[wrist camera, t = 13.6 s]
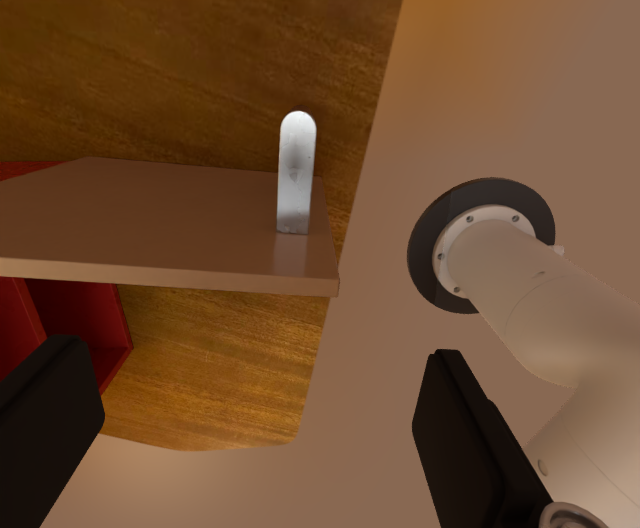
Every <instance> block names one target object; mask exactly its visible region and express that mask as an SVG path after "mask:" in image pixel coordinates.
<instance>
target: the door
mask: <svg viewBox="0 0 640 528" xmlns="http://www.w3.org/2000/svg"><path fill="white" fill-rule="evenodd" d="M316 136H317V126H316V122H315V119H314V116H313V113H312V111H311V110H310V109H309V108H308V107H307V106H305V105H297V106H295V107H293V108H292V109H291V110H290V111H289V112H288V113H287V114H286V115H285V116H284V118H283V119H282V122H281V125H280V140H279V163H278V173H275V172H263V171H252V170H240V169H229V168H217V167H206V166H194V165H183V164H171V163H160V162H148V161H137V160H125V159H114V158H102V157H91V156H87V157H84V158H80V159H77V160H73V161H70V162H66V163H63V164H59V165H56V166H52V167H49V168H45V169H42V170H38V171H35V172H31V173H28V174H24V175H21V176H17V177H14V178H10V179H7V180H3V181H0V276H4V277H20V278H36V279H52V280H67V281H83V282H99V283H115V284H131V285H146V286H162V287H178V288H194V289H210V290H226V291H241V292H257V293H273V294H289V295H305V296H321V297H338V291H339V284H340V278H339V273H338V267H337V262H336V256H335V251H334V245H333V239H332V234H331V228H330V223H329V217H328V212H327V206H326V201H325V195H324V190H323V184H322V178H321V176H313V172H314V160H315V148H316Z"/></svg>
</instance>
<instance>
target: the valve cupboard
mask: <svg viewBox="0 0 640 528" xmlns="http://www.w3.org/2000/svg"><path fill="white" fill-rule="evenodd" d="M66 162H70V161H25V162H0V181H3V180H7V179H10V178H14V177H17V176H21V175H24V174H28V173H31V172H35V171H38V170H42V169H45V168H49V167H52V166H56V165H59V164H63V163H66ZM54 334H64V335H78V336H79V337H80V338H81V339H82V341H85V342H86V343H87V345H88V348H89V352H90V356H91V360H92V364H93V368H94V372H95V376H96V380H97V384H98V388H99V392H100V396H101V395H102V394H103V392H104V391H105V390H106V388H107V387H108V385H109V384H110V382H111V381H112V379H113V378H114V376H115V375H116V373H117V372H118V370H119V369H120V367H121V366H122V364H123V363H124V362H125V360H126V359H127V357H128V356H129V354H130V353H131V351H132V350H133V345H132V341H131V337H130V334H129V330H128V327H127V323H126V319H125V316H124V312H123V309H122V305H121V302H120V298H119V294H118V291H117V287H116V284H115V283H99V282H83V281H67V280H52V279H36V278H20V277H4V276H0V382H1V381H2V380H3V379H4V378H5V377H6V376H7V375H8V374H9V373H10V372H12V371H13V370H14V369H15V368H16V367H17V366H18V365H19V364H20V363H21V362H22V361H23V360H24V359H26V358H27V357H28V356H29V355H30V354H31V353H32V352H33V351H34V350H35V349H36V348H37V347H38V346H40V345H41V344H42V343H43V342H44V341H45V340H46V339H47V338H48V337H50V336H51V335H54Z"/></svg>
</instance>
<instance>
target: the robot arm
mask: <svg viewBox="0 0 640 528" xmlns="http://www.w3.org/2000/svg"><path fill="white" fill-rule="evenodd" d="M468 216H469V217H468ZM467 217H468V218H467ZM466 218H467V219H466ZM439 254H440V255H439ZM563 254H564V247H563V246H562V245H549V246H547V245H546V244H544V243H543V242H541V241H539V240H538V239H536V236H535V232H534V229H533V227H532V225H531V223H530V222H529V220H528V219H527V218H526V217H525V216H524V215H522V214H521V213H520V212H518V211H516V210H514V209H512V208H510V207H507V206H503V205H498V204H486V205H481V206H476V207H474V208H471V209H469V210H466V211H465V212H463V213H461V214H459V215H458V216H456V217H455V218H454V219H453V220H452V221H450V222H449V223H448V224H447V226H446V227H445V228H444V229H443V230H442V232H441V233H440V235H439V236H438V238H437V240H436V243H435V245H434V249H433V254H432V265H433V270H434V273H435V275H436V277H437V279H438V280H439V282H440V283H441V285H442V286H443V287H444V288H445V289H446V290H447V291H449V292H450V293H452V294H454V295H456V296H459V297H462V298H467V299H469V300H470V301H471V303H472V304H473V305H474V306H475V308H476V309H477V310H478V311H479V313H480V314H481V315H482V316H483V318H484V319H485V320H486V321H487V323H488V324H489V325H490V327H491V328H492V329H493V330H494V332H495V333H496V334H497V335H498V337H499V338H500V339H501V340H502V342H503V343H504V344H505V346H506V347H507V348H508V349H509V351H510V352H511V353H512V354H513V355H514V356H515V358H516V359H517V360H518V361H519V363H520V364H521V365H522V366H523V367H524V368H526V369H527V370H528V371H529V372H530V373H532V374H533V375H535V376H537V377H539V378H541V379H543V380H545V381H547V382H550V383H553V384H556V385H560V386H564V387H569V388H574V389H576V391H575V392H574V394H573V395H572V396H571V397H570V398H569V399H568V400H567V402H566V403H565V404H564V405H563V406H562V407H561V410H560V411H559V412H558V413H557V414H556V415H555V416H554V417H553V418H552V419H551V420H550V421H549V422H548V423H547V424H546V425H545V426H544V427H543V428H542V429H541V430H540V431H539V432H538V433H537V434H536V435H535V436H534V437H533V438H532V439H531V440H530V441H529V442H528V443H527V444H526V445H525V446H524V447H523V448H521V446H520V445H519V443H518V442H517V440H516V438H515V436H514V435H513V433H512V431H511V430H510V428H509V426H508V425H507V423H506V422H505V420H504V418H503V416H502V415H501V413H500V412H499V410H498V408H497V407H496V405H495V404H494V403H493V402H492V401H491V400H489V399H487V397H486V395H485V393H484V392H483V390H482V388H481V387H480V385H479V383H478V381H477V380H476V378H475V376H474V375H473V373H472V371H471V370H470V368H469V366H468V365H467V363H466V361H465V359H464V358H463V356H462V354H461V353H460V351H458V350H450V349H449V350H448V349H437V350H436V351H435V353H434V354H430V355H429V357H428V360H427V364H426V369H425V372H424V376H423V381H422V385H421V389H420V393H419V397H418V401H417V405H416V409H415V413H414V417H413V421H412V432H413V437H414V440H415V444H416V447H417V450H418V453H419V457H420V460H421V463H422V466H423V470H424V473H425V476H426V480H427V483H428V486H429V490H430V493H431V496H432V499H433V503H434V506H435V509H436V512H437V516H438V519H439V522H440V526H441V528H640V304H638V303H637V302H635V301H633V300H632V299H630V298H628V297H626V296H625V295H623V294H621V293H620V292H618V291H617V290H615V289H613V288H612V287H610V286H608V285H607V284H605V283H604V282H602V281H601V280H599V279H597V278H595V277H594V276H592V275H591V274H589V273H588V272H586V271H585V270H583V269H581V268H580V267H578V266H577V265H575V264H574V263H572V262H570V261H569V260H567V259H566V258H564V257H563ZM104 419H105V412H104V408H103V404H102V400H101V396H100V392H99V388H98V384H97V380H96V376H95V372H94V368H93V364H92V360H91V356H90V352H89V348H88V345H87V343H86V342H85V341H82V339H81V338H80V337H79V336H78V335H64V334H54V335H51V336H50V337H48V338H47V339H46V340H45V341H44V342H43V343H42V344H41V345H40V346H38V347H37V348H36V349H35V350H34V351H33V352H32V353H31V354H30V355H29V356H28V357H27V358H26V359H24V360H23V361H22V362H21V363H20V364H19V365H18V366H17V367H16V368H15V369H14V370H13V371H12V372H10V373H9V374H8V375H7V376H6V377H5V378H4V379H3V380H2V381H1V382H0V528H39V527H40V526H41V524H42V523H43V521H44V519H45V518H46V516H47V515H48V513H49V511H50V509H51V508H52V507H53V505H54V503H55V502H56V500H57V499H58V497H59V495H60V494H61V492H62V491H63V489H64V487H65V486H66V484H67V483H68V481H69V479H70V478H71V476H72V475H73V473H74V471H75V470H76V468H77V466H78V465H79V463H80V461H81V460H82V458H83V457H84V455H85V454H86V452H87V450H88V449H89V447H90V446H91V444H92V442H93V441H94V439H95V438H96V436H97V434H98V433H99V431H100V430H101V428H102V426H103V423H104Z"/></svg>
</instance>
